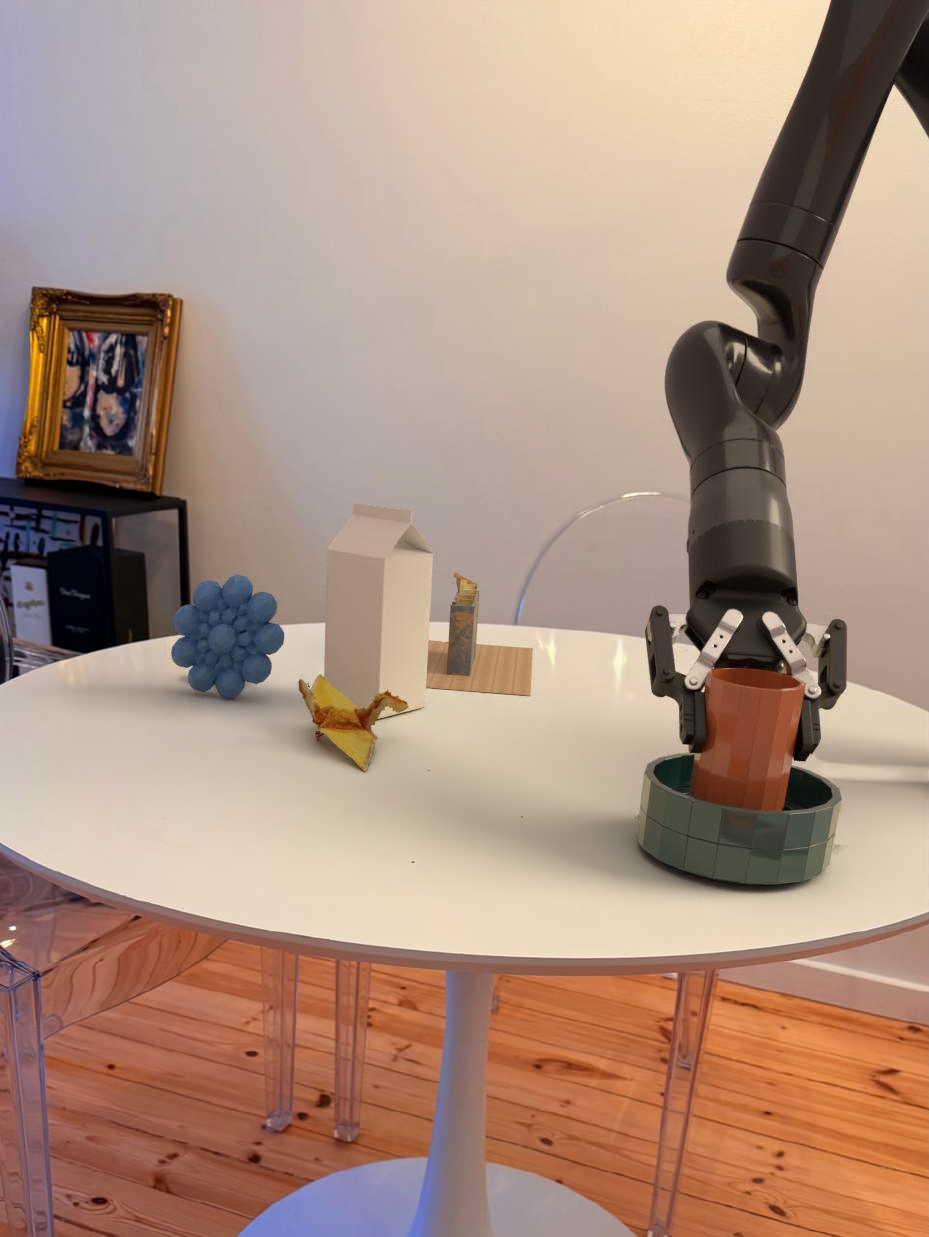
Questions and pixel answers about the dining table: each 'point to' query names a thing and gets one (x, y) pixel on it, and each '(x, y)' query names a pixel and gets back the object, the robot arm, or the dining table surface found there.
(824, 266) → the robot arm
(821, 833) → the bowl
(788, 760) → the cup
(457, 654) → the rusty post on board
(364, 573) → the milk carton
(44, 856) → the dining table surface
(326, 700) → the origami crane
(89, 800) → the dining table surface
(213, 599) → the blue sphere cluster flower
